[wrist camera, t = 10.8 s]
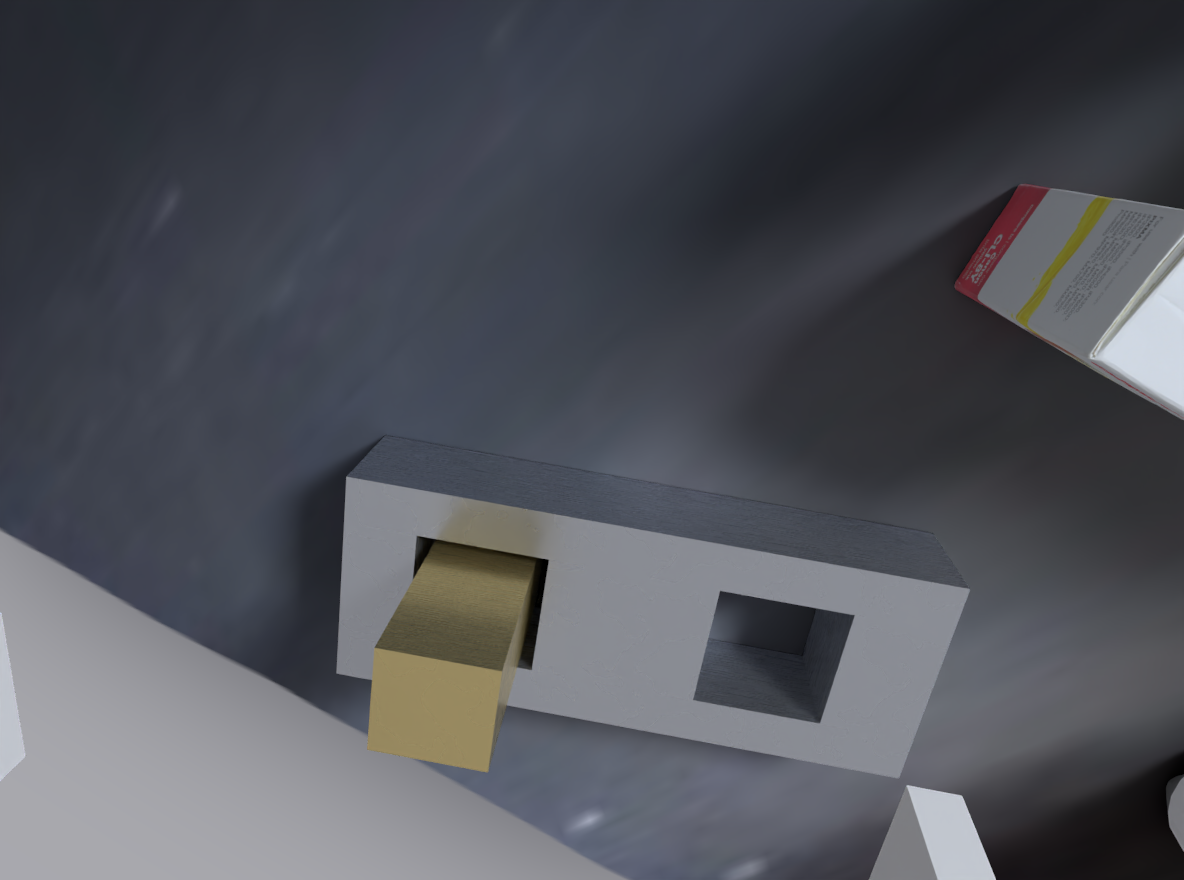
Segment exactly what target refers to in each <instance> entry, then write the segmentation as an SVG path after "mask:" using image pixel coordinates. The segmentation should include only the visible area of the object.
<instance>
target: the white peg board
mask: <svg viewBox="0 0 1184 880" xmlns="http://www.w3.org/2000/svg"><path fill="white" fill-rule="evenodd" d="M436 539H438V540H443V541H449V542H454V543H460V544H465V545H471V546H476V547H482V548H487V549H493V550H498V551H504V552H509V553H515V554H520V555H526V556H531V557H537V558H542V559H548V560H549V563H548V569H547V576H546V582H545V588H544V595H543V601H542V608H537V607H534V610H533V613H532V617H531V620H530V624H529V628H528V631H527V635H526V638H525V642H524V645H523V649H522V653H521V656H520V660H519V663H518V667H517V670H516V674H515V678H514V681H513V685H512V688H511V692H510V695H509V699H508V702H507V705H508V706H513V707H519V708H524V709H530V710H535V711H540V712H546V713H551V714H556V715H562V716H567V717H572V718H578V719H583V720H589V721H594V722H599V723H605V724H610V725H615V726H621V727H626V728H631V729H637V730H642V731H648V732H653V733H658V734H664V735H669V736H674V737H680V738H685V739H690V740H696V741H701V742H706V743H712V744H717V745H723V746H728V747H733V748H739V749H744V750H749V751H755V752H760V753H765V754H771V755H776V756H782V757H787V758H792V759H798V760H803V761H808V762H814V763H819V764H824V765H830V766H835V767H841V768H846V769H851V770H857V771H862V772H867V773H873V774H878V775H883V776H889V777H894V778H899V777H900V774H901V771H902V769H903V766H904V763H905V761H906V758H907V756H908V753H909V750H910V748H911V745H912V742H913V740H914V737H915V734H916V732H917V729H918V726H919V724H920V721H921V718H922V716H923V713H924V711H925V708H926V705H927V703H928V700H929V697H930V695H931V692H932V689H933V687H934V684H935V681H936V679H937V676H938V673H939V671H940V668H941V666H942V663H943V660H944V658H945V655H946V652H947V650H948V647H949V644H950V642H951V639H952V636H953V634H954V631H955V628H956V626H957V623H958V620H959V618H960V615H961V613H962V610H963V607H964V605H965V602H966V599H967V597H968V594H969V591H970V588H969V586H968V585H967V583H966V582H965V580H964V579H963V577H962V576H961V575H960V573H959V572H958V570H957V569H956V567H955V566H954V564H953V563H952V561H951V560H950V558H949V557H948V555H947V554H946V552H945V551H944V549H943V548H942V546H941V545H940V543H939V542H938V540H937V539H936V537H935V536H934V534H933V533H930V532H924V531H919V530H913V529H907V528H902V527H896V526H891V525H885V524H879V523H874V522H868V521H863V520H857V519H851V518H846V517H840V516H835V515H829V514H823V513H818V512H812V511H807V510H801V509H795V508H790V507H784V506H779V505H773V504H768V503H762V502H756V501H751V500H745V499H740V498H734V497H728V496H723V495H717V494H712V493H706V492H700V491H695V490H689V489H684V488H678V487H672V486H667V485H661V484H656V483H650V482H644V481H639V480H633V479H628V478H622V477H616V476H611V475H605V474H600V473H594V472H589V471H583V470H577V469H572V468H566V467H561V466H555V465H549V464H544V463H538V462H533V461H527V460H521V459H516V458H510V457H505V456H499V455H493V454H488V453H482V452H477V451H471V450H465V449H460V448H454V447H449V446H443V445H437V444H432V443H426V442H421V441H415V440H409V439H404V438H398V437H393V436H387V435H385V436H384V437H383V438H382V439H381V440H380V441H379V443H378V444H377V445H376V446H375V447H374V448H373V449H372V450H371V451H370V452H369V453H368V454H367V455H366V456H365V457H364V458H363V460H362V461H361V462H360V463H359V464H358V465H357V466H356V467H355V468H354V469H353V470H352V471H351V472H350V473H349V474H348V475H347V477H346V494H345V514H344V534H343V554H342V573H341V593H340V613H339V633H338V653H337V672H336V674H342V675H347V676H353V677H358V678H363V679H369V680H372V674H373V660H374V647H375V646H376V644H377V642H378V640H379V639H380V637H381V635H382V633H383V632H384V630H385V628H386V626H387V625H388V623H389V621H390V619H391V618H392V616H393V614H394V612H395V611H396V609H397V607H398V605H399V604H400V602H401V600H402V598H403V597H404V595H405V593H406V591H407V590H408V588H409V586H410V584H411V583H412V581H413V579H414V577H415V576H416V574H417V572H418V570H419V569H420V567H421V565H422V563H423V562H424V560H425V558H426V556H427V555H428V553H429V551H430V549H431V548H432V546H433V544H434V542H435V541H436ZM720 591H724V592H730V593H735V594H741V595H746V596H752V597H757V598H763V599H768V600H774V601H779V602H785V603H790V604H796V605H801V606H807V607H812V608H817V609H816V612H815V615H814V619H813V622H812V625H811V629H810V632H809V635H808V639H807V642H806V645H805V649H804V652H803V655H802V656H799V655H794V654H788V653H783V652H777V651H772V650H766V649H761V648H755V647H750V646H744V645H739V644H734V643H728V642H723V641H717V640H712V639H708V637H709V633H710V629H711V625H712V621H713V617H714V613H715V609H716V605H717V601H718V597H719V593H720Z"/></svg>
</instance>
